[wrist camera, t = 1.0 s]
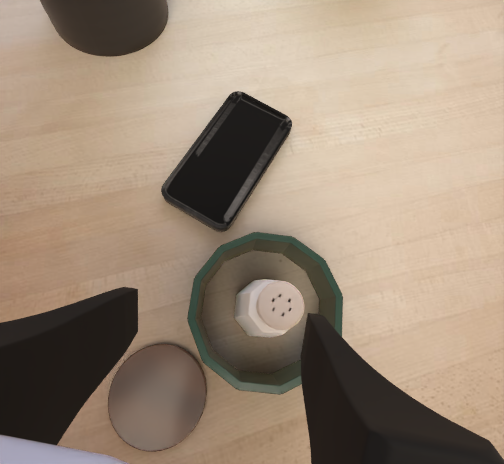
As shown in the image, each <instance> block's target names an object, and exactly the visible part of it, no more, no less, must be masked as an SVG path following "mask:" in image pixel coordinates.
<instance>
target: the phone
mask: <svg viewBox="0 0 504 464" xmlns="http://www.w3.org/2000/svg"><path fill="white" fill-rule="evenodd" d="M291 127H292V121H291V119H290V118H289V117H288V116H286V115H285V114H283V113H281V112H279V111H277V110H275V109H273V108H271V107H270V106H268V105H266V104H264V103H262V102H260V101H258V100H256V99H255V98H253V97H251V96H249V95H247V94H245V93H243V92H239V91H237V92H233V93H231V94H230V95H229V97H228V98H227V99H226V101H225V102H224V103H223V105H222V106H221V107H220V109H219V110H218V112H217V113H216V114H215V116H214V117H213V118H212V120H211V121H210V122H209V124H208V125H207V126H206V128H205V129H204V130H203V132H202V133H201V134H200V136H199V137H198V138H197V140H196V141H195V142H194V144H193V145H192V146H191V148H190V149H189V150H188V152H187V153H186V155H185V156H184V157H183V159H182V160H181V161H180V163H179V164H178V165H177V167H176V168H175V169H174V171H173V172H172V173H171V175H170V176H169V177H168V179H167V180H166V181H165V183H164V184H163V186H162V189H161V192H162V195H163V197H164V198H165V200H166V201H167V202H168V203H169V204H171V205H173V206H174V207H176V208H178V209H179V210H181V211H183V212H185V213H186V214H188V215H190V216H192V217H193V218H195V219H197V220H198V221H200V222H202V223H204V224H205V225H207V226H209V227H211V228H212V229H214V230H216V231H221V232H222V231H226V230H227V229H229V228H230V227H231V225H232V224H233V222H234V220H235V219H236V217H237V216H238V214H239V213H240V211H241V209H242V208H243V206H244V205H245V203H246V201H247V200H248V198H249V197H250V195H251V194H252V192H253V190H254V189H255V187H256V186H257V184H258V182H259V181H260V179H261V178H262V176H263V174H264V173H265V171H266V170H267V168H268V167H269V165H270V163H271V162H272V160H273V159H274V157H275V155H276V154H277V152H278V151H279V149H280V147H281V146H282V144H283V143H284V141H285V140H286V138H287V136H288V135H289V133H290V130H291Z"/></svg>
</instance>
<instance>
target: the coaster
mask: <svg viewBox="0 0 504 464" xmlns="http://www.w3.org/2000/svg"><path fill="white" fill-rule="evenodd" d="M205 401H206V381H205V377H204V373H203V371H202V369H201V367H200V365H199V363H198V362H197V360H196V359H195V358H194V357H193V356H192V355H191V354H190V353H189V352H187V351H186V350H184V349H182V348H180V347H177V346H174V345H169V344H157V345H152V346H149V347H146V348H144V349H141V350H139V351H138V352H136V353H135V354H133V355H132V356H130V357H129V358H128V359H127V360H126V361H125V362H124V363H123V364H122V366H121V367H120V368H119V370H118V371H117V373H116V375H115V377H114V379H113V381H112V384H111V387H110V391H109V397H108V410H109V416H110V420H111V422H112V425H113V427H114V429H115V431H116V432H117V434H118V435H119V436H120V437H121V438H122V439H123V441H125V442H126V443H127V444H129V445H130V446H132V447H134V448H137V449H139V450H144V451H161V450H165V449H168V448H170V447H173V446H175V445H176V444H178V443H180V442H181V441H182V440H184V439H185V438H186V437H187V436H188V435H189V434H190V433H191V432H192V431H193V429H194V428H195V427H196V425H197V423H198V422H199V420H200V417H201V415H202V413H203V409H204V406H205Z"/></svg>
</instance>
